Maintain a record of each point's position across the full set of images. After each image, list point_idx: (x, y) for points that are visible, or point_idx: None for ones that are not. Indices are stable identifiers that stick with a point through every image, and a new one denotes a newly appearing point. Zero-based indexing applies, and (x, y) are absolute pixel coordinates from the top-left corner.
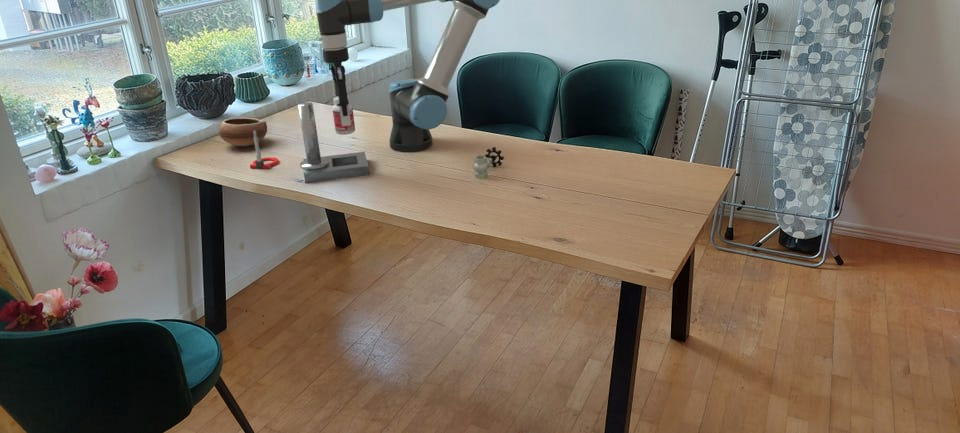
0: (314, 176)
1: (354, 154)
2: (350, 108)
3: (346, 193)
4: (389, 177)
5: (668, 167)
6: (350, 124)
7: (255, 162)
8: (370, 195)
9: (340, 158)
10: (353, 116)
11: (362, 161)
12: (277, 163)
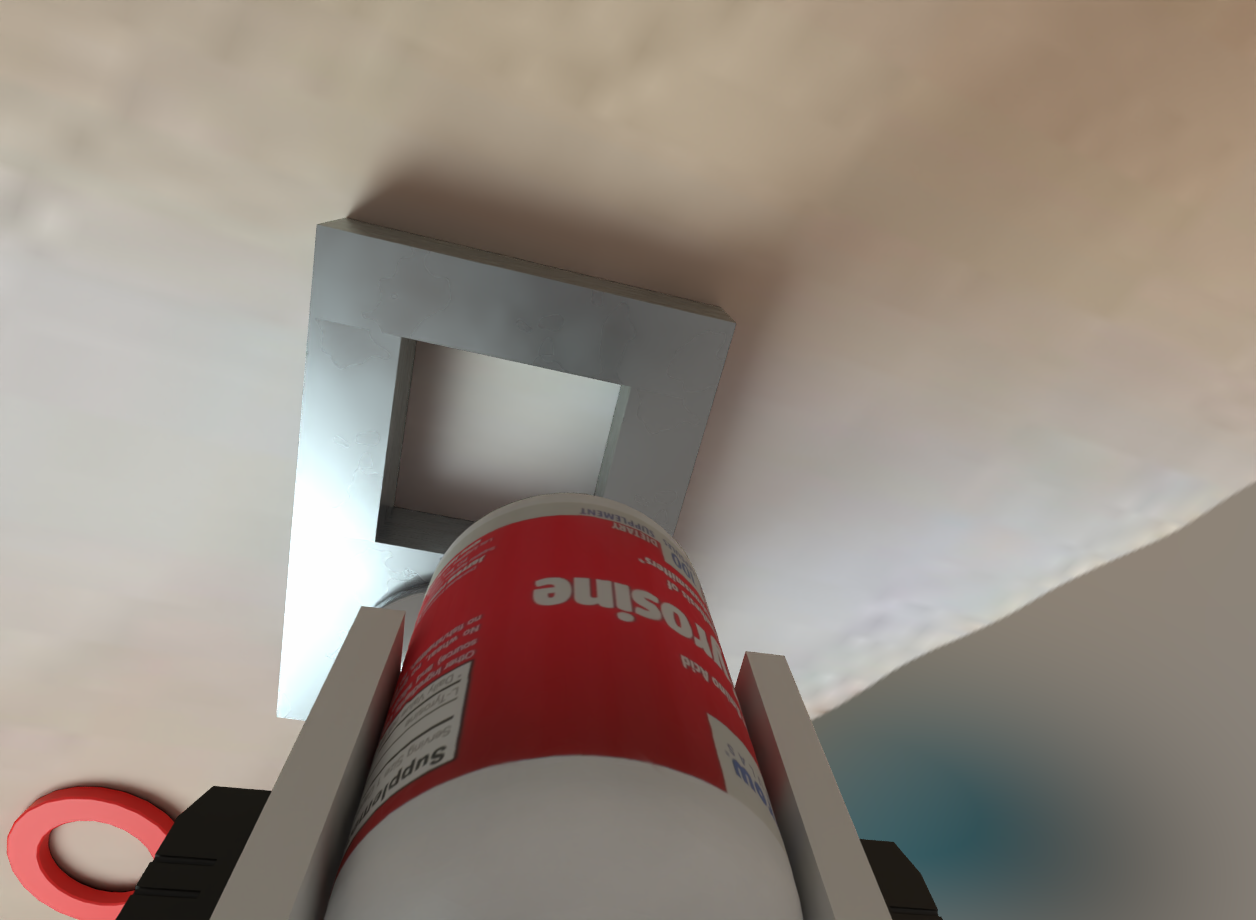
0: None
1: (357, 341)
2: (762, 845)
3: (942, 546)
4: (879, 174)
5: None
6: (787, 670)
7: (106, 913)
8: (1089, 424)
9: (385, 471)
10: (646, 633)
11: (590, 332)
12: (142, 799)
